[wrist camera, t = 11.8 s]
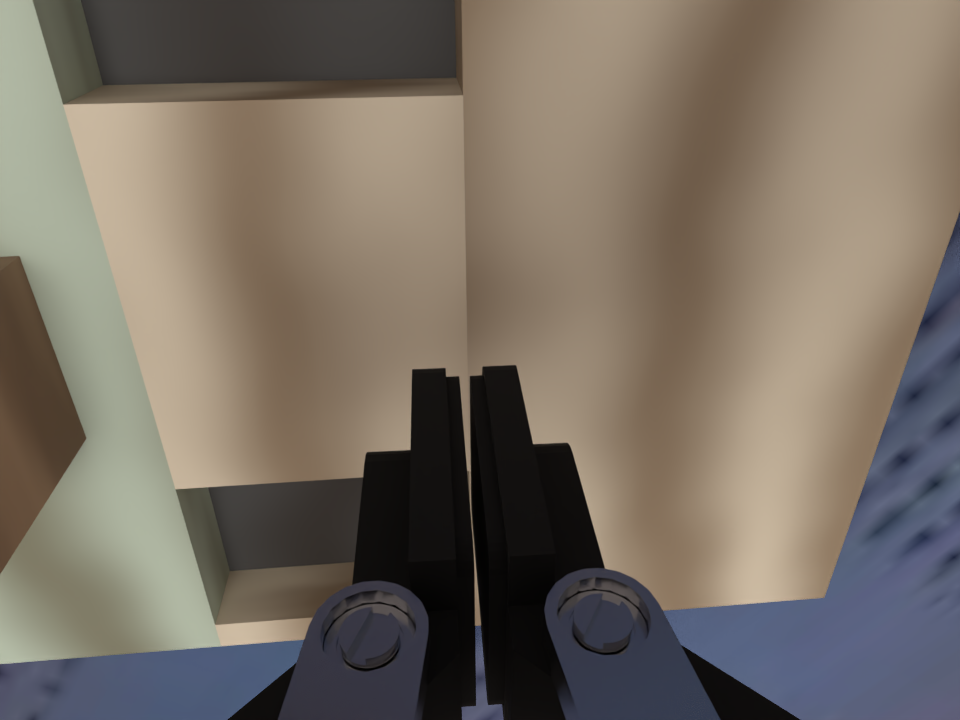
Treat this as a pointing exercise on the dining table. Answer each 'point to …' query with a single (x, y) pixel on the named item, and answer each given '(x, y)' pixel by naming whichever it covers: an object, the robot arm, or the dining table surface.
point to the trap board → (460, 280)
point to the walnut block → (29, 411)
